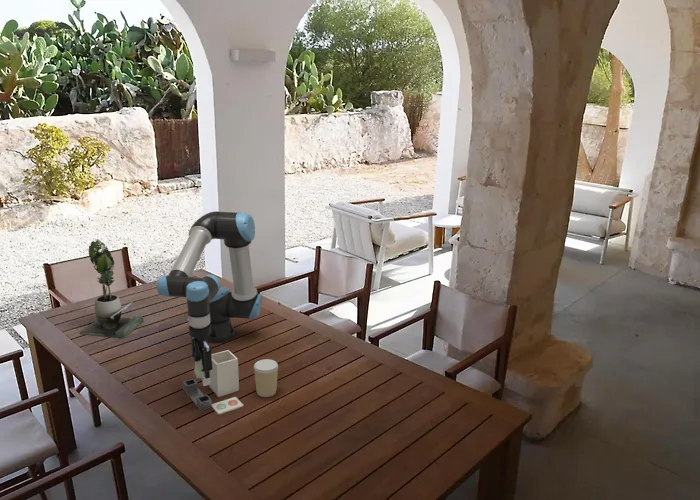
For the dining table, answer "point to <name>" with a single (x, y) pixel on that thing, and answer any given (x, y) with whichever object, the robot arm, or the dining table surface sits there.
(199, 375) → the ball sage
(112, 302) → the potted plant
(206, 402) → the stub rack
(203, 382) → the robot arm
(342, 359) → the dining table surface
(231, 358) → the open square box
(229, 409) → the card
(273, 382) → the coffee cup
